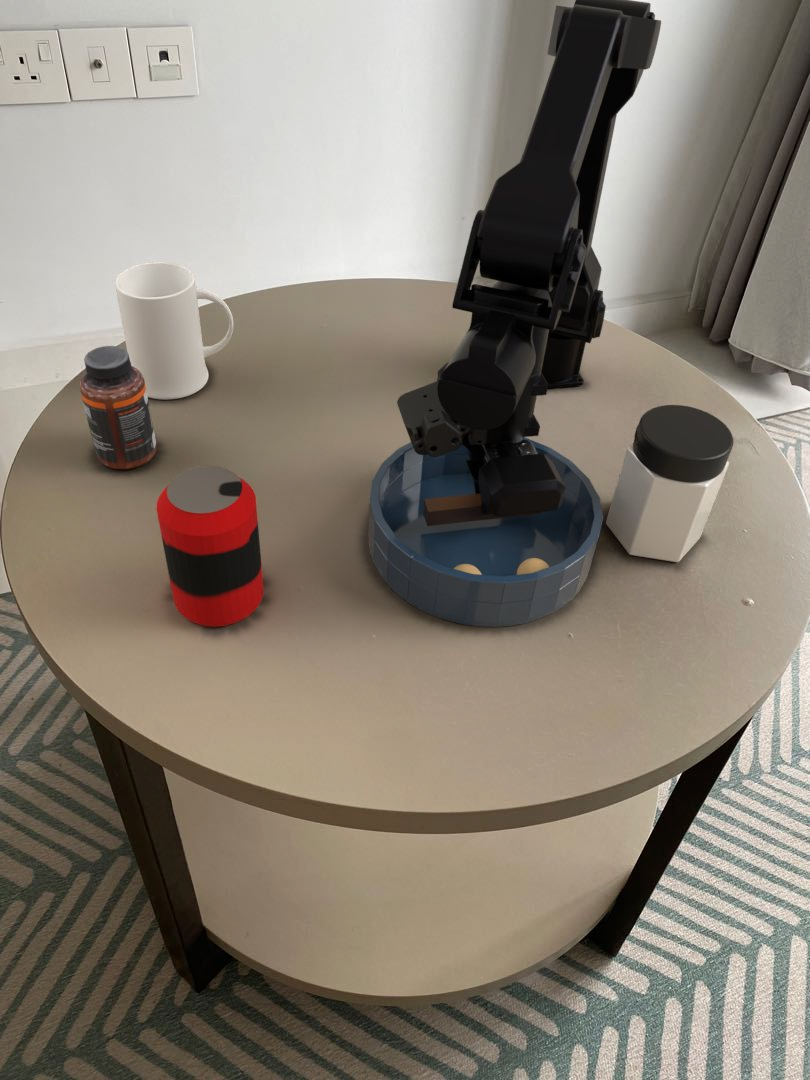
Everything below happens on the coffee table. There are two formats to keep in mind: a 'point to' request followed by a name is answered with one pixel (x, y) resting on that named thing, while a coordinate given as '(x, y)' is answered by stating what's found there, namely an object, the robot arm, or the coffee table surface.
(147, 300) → the mug
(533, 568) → the cork ball
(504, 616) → the bowl
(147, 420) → the supplement bottle
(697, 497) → the jar
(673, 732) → the coffee table surface
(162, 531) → the soda can
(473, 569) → the cork ball
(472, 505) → the stick
